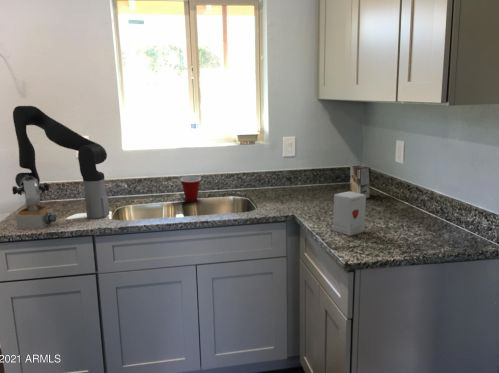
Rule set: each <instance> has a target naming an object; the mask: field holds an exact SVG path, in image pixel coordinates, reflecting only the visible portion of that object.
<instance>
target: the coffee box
mask: <svg viewBox="0 0 499 373" xmlns="http://www.w3.org/2000/svg"><path fill="white" fill-rule="evenodd" d="M349 182H350V183H349V191H350V192H355V193H359V194H364V195H366V199H368V198H370V192H371V191H370V190H371V188H370V187H371V167H369V166H366V165H365V166H364V165H352V166H350V181H349Z"/></svg>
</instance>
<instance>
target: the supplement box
mask: <svg viewBox="0 0 499 373" xmlns="http://www.w3.org/2000/svg"><path fill="white" fill-rule="evenodd" d="M333 195H334V196H333V218H332V219H333V220H332V221H333V222H332V224H333V225H332V226H333V227H332V231H334V232H338V233H340V234H344V235H347V236H353V235H358V234H360V233H363V232H365V230H366V225H365V224H366V207H367V206H366V202H367V198H366V195H364V194H359V193H355V192H350V190H349V191H344V192H340V193H335V194H333Z"/></svg>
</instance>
